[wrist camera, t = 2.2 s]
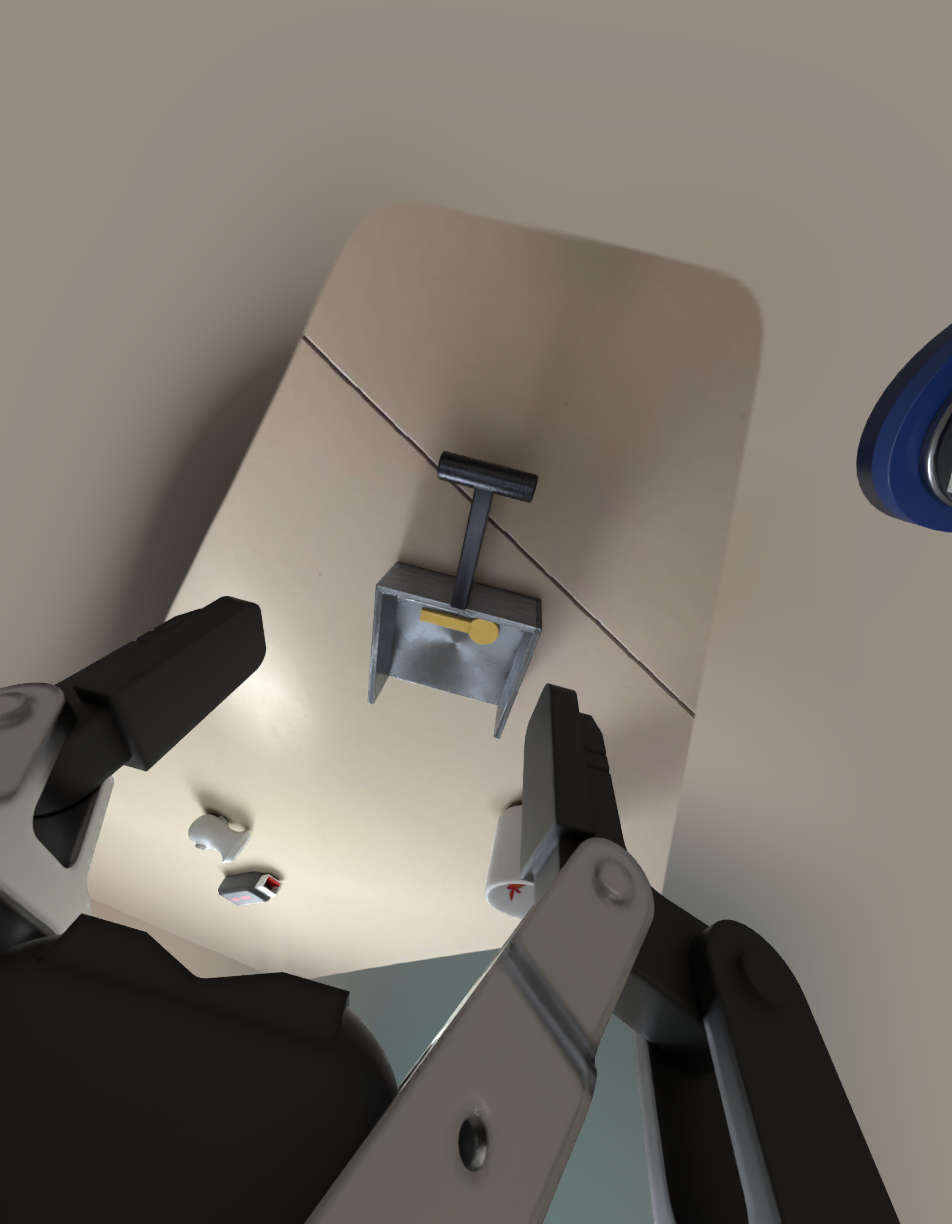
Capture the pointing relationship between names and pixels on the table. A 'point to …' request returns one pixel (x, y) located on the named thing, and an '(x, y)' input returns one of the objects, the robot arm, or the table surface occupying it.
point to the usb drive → (249, 888)
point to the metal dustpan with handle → (458, 608)
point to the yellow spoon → (463, 625)
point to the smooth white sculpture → (218, 836)
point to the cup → (508, 868)
